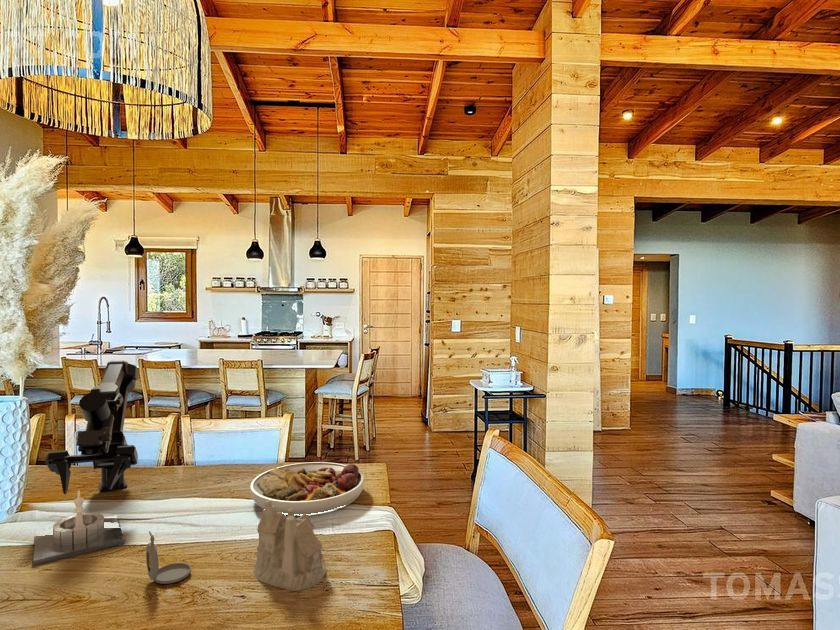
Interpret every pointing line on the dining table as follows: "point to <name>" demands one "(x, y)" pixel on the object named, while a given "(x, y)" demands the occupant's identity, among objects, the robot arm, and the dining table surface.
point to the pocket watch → (164, 567)
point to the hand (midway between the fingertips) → (87, 491)
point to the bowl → (308, 487)
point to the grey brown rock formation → (288, 551)
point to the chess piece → (79, 511)
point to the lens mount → (76, 538)
